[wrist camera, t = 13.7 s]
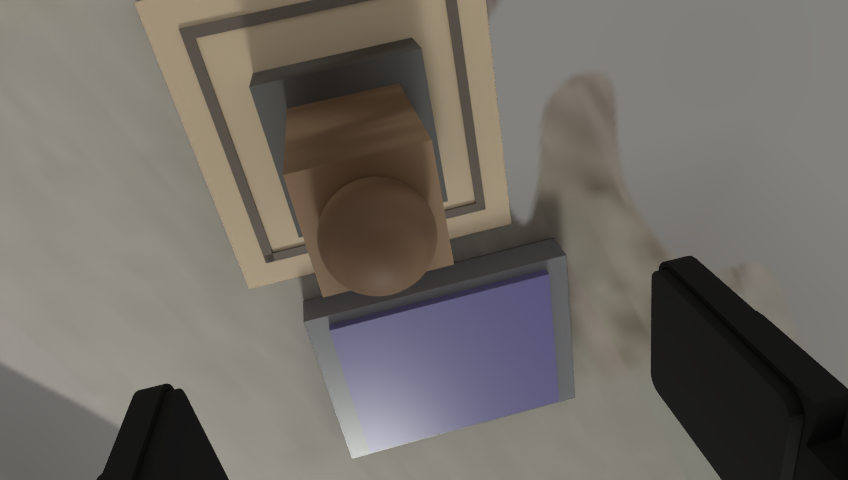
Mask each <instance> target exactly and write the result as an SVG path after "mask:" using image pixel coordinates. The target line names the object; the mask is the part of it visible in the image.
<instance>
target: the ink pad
mask: <svg viewBox="0 0 848 480" xmlns="http://www.w3.org/2000/svg"><path fill="white" fill-rule="evenodd" d="M303 312H304V324H305V327H306V330H307V333H308V336H309V339H310V341H311V344H312V347H313V350H314V353H315V355H316V358H317V361H318V364H319V367H320V369H321V372H322V375H323V378H324V381H325V384H326V386H327V389H328V392H329V395H330V398H331V400H332V403H333V406H334V409H335V412H336V414H337V417H338V420H339V423H340V426H341V429H342V431H343V434H344V437H345V440H346V443H347V445H348V448H349V451H350V454H351V457H352V458H356V457H359V456H363V455H367V454H370V453H374V452H378V451H381V450H385V449H389V448H392V447H396V446H400V445H403V444H407V443H411V442H414V441H418V440H422V439H425V438H429V437H433V436H436V435H440V434H444V433H447V432H451V431H455V430H458V429H462V428H466V427H469V426H473V425H477V424H480V423H484V422H488V421H491V420H495V419H499V418H502V417H506V416H510V415H513V414H517V413H521V412H524V411H528V410H532V409H535V408H539V407H543V406H546V405H550V404H554V403H557V402H561V401H565V400H568V399H572V398H575V387H574V371H573V355H572V338H571V322H570V306H569V290H568V274H567V258H566V254H565V253H564V251H563V250H562V249H561V248H560V246H559V245H558V244H557V242H556V241H555V240H554V239H553V238H552V239H548V240H544V241H540V242H536V243H532V244H528V245H524V246H520V247H516V248H512V249H508V250H504V251H500V252H496V253H492V254H488V255H484V256H480V257H476V258H472V259H468V260H464V261H460V262H457V263H454V265H450V266H446V267H442V268H438V269H434V270H430V271H426V272H425V274H424V275H423V276H422V277H421V278H420V279H419V280H418V281H417V282H416V283H415V284H413V285H412V286H410V287H409V288H407V289H405V290H403V291H401V292H399V293H396V294H392V295H387V296H367V295H362V294H359V293H356V292H353V291H347V292H343V293H339V294H335V295H331V296H327V297H318V298H314V299H310V300H306V301H303Z"/></svg>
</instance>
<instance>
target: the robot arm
mask: <svg viewBox="0 0 848 480" xmlns="http://www.w3.org/2000/svg"><path fill="white" fill-rule="evenodd" d="M651 377H652V381H653V384H654V386H655V389H656V390H657V392H658V393H659V395H660V396H661V398H662V399H663V400H664V402H665V403H666V404H667V406H668V407H669V408H670V410H671V411H672V413H673V414H674V415H675V417H676V418H677V419H678V421H679V422H680V423H681V425H682V426H683V428H684V429H685V430H686V432H687V433H688V434H689V436H690V437H691V438H692V440H693V441H694V443H695V444H696V445H697V447H698V448H699V449H700V451H701V452H702V453H703V455H704V456H705V458H706V459H707V460H708V462H709V463H710V464H711V466H712V467H713V469H714V470H715V471H716V473H717V474H718V475H719V477H720V478H721V479H722V480H848V389H847V388H846V387H845V386H844V385H843V384H842V383H841V382H839V381H838V380H837V379H836V378H835V377H834V376H832V375H831V374H830V373H829V372H828V371H827V370H826V369H824V368H823V367H822V366H821V365H820V364H819V363H818V362H816V361H815V360H814V359H813V358H812V357H811V356H810V355H808V354H807V353H806V352H805V351H804V350H803V349H801V348H800V347H799V346H798V345H797V344H796V343H795V342H793V341H792V340H791V339H790V338H789V337H788V336H787V335H785V334H784V333H783V332H782V331H781V330H780V329H778V328H777V327H776V326H775V325H774V324H773V323H772V322H770V321H769V320H768V319H767V318H766V317H765V316H763V315H762V314H760V313H759V312H757V311H755V310H754V309H753V308H752V307H751V306H750V305H748V304H747V303H746V302H745V301H744V300H743V299H742V298H740V297H739V296H738V295H737V294H736V293H735V292H734V291H732V290H731V289H730V288H729V287H728V286H727V285H726V284H724V283H723V282H722V281H721V280H720V279H719V278H718V277H716V276H715V275H714V274H713V273H712V272H711V271H710V270H708V269H707V268H706V267H705V266H704V265H703V264H701V263H700V262H699V261H698V260H697V259H696V258H694V257H693V256H686V257H682V258H678V259H674V260H669V261H665V262H662V263H661V264H660V266H659V271H655V272H654V273H653V274H652V298H651ZM97 480H229V479H228V477H227V475H226V473H225V471H224V469H223V467H222V465H221V463H220V461H219V459H218V457H217V455H216V453H215V451H214V450H213V448H212V446H211V444H210V442H209V440H208V438H207V436H206V434H205V432H204V430H203V428H202V426H201V424H200V422H199V420H198V418H197V416H196V414H195V412H194V410H193V408H192V406H191V404H190V402H189V400H188V398H187V396H186V394H185V393H184V391H183V390H182V389H175V390H174V388H173V387H172V386H171V385H170V384H163V385H159V386H155V387H151V388H146V389H142V390H138V391H137V392H135V394H134V396H133V398H132V400H131V403H130V405H129V408H128V410H127V413H126V415H125V418H124V420H123V423H122V425H121V428H120V430H119V433H118V436H117V438H116V441H115V443H114V446H113V448H112V451H111V453H110V456H109V459H108V461H107V463H106V466H105V468H104V471H103V473H102V474H101V475H100V476H99V477H98V478H97Z"/></svg>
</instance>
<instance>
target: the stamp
mask: <svg viewBox="0 0 848 480" xmlns="http://www.w3.org/2000/svg"><path fill="white" fill-rule="evenodd" d="M249 88H250V91H251V94H252V98H253V101H254V104H255V107H256V110H257V113H258V116H259V119H260V122H261V125H262V128H263V131H264V134H265V137H266V140H267V143H268V146H269V149H270V152H271V155H272V158H273V161H274V164H275V167H276V170H277V173H278V176H279V179H280V182H281V185H282V188H283V191H284V194H285V197H286V200H287V204H288V207H289V210H290V213H291V216H292V219H293V222H294V225H295V228H296V231H297V234H298V237H299V238H300V237H303V238H304V241H305V244H306V248H307V251H308V254H309V257H310V260H311V263H312V266H313V269H314V272H315V275H316V278H317V281H318V284H319V287H320V291H321V294H322V297H327V296H331V295H335V294H339V293H343V292H347V291H353V292H356V293H359V294H362V295H367V296H387V295H392V294H396V293H399V292H401V291H403V290H405V289H407V288H409V287H410V286H412V285H413V284H415V283H416V282H417V281H418V280H419V279H420V278H421V277H422V276H423V275H424V274H425V272H426V271H430V270H434V269H438V268H442V267H446V266H450V265H454V261H453V255H452V250H451V244H450V239H449V233H448V227H447V222H446V216H445V211H444V205H443V202H447V201H448V198H447V192H446V186H445V181H444V175H443V169H442V163H441V158H440V152H439V146H438V140H437V135H436V129H435V123H434V117H433V112H432V106H431V100H430V94H429V89H428V83H427V77H426V71H425V66H424V60H423V54H422V48H421V47H420V46H419V45H418V44H417V43H416V41H415V40H414V39H413V38H407V39H403V40H398V41H394V42H389V43H385V44H380V45H376V46H371V47H367V48H362V49H358V50H353V51H349V52H345V53H340V54H336V55H331V56H327V57H322V58H318V59H313V60H309V61H304V62H300V63H295V64H291V65H286V66H282V67H277V68H273V69H268V70H264V71H259V72H255V73H253V74H252V78H251V82H250V85H249Z"/></svg>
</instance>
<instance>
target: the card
mask: <svg viewBox="0 0 848 480" xmlns="http://www.w3.org/2000/svg"><path fill="white" fill-rule="evenodd" d="M134 3H135V6H136V8H137V11H138V13H139V16H140V18H141V21H142V23H143V26H144V28H145V31H146V33H147V36H148V38H149V41H150V43H151V46H152V48H153V51H154V53H155V56H156V58H157V61H158V63H159V66H160V68H161V71H162V73H163V76H164V78H165V81H166V83H167V86H168V88H169V91H170V93H171V96H172V98H173V101H174V103H175V105H176V108H177V110H178V113H179V115H180V118H181V120H182V123H183V125H184V128H185V130H186V133H187V135H188V138H189V140H190V143H191V145H192V148H193V150H194V153H195V155H196V158H197V160H198V163H199V165H200V168H201V170H202V173H203V175H204V178H205V180H206V183H207V185H208V188H209V190H210V193H211V195H212V198H213V200H214V203H215V205H216V208H217V210H218V213H219V215H220V218H221V220H222V223H223V225H224V228H225V230H226V233H227V235H228V238H229V240H230V243H231V245H232V248H233V250H234V253H235V255H236V258H237V260H238V263H239V265H240V268H241V270H242V273H243V275H244V278H245V280H246V283H247V285H248V288H249V289H252V288H256V287H260V286H264V285H268V284H272V283H276V282H280V281H284V280H288V279H292V278H296V277H300V276H304V275H308V274H312V273H315V272H314V269H313V266H312V263H311V260H310V257H309V254H308V251H307V248H306V244H305V241H304V238H303V237H300V238H299V237H298V234H297V231H296V228H295V225H294V222H293V219H292V216H291V213H290V210H289V207H288V204H287V200H286V197H285V194H284V191H283V188H282V185H281V182H280V179H279V176H278V173H277V170H276V167H275V164H274V161H273V158H272V155H271V152H270V149H269V146H268V143H267V140H266V137H265V134H264V131H263V128H262V125H261V122H260V119H259V116H258V113H257V110H256V107H255V104H254V101H253V98H252V94H251V91H250V88H249V85H250V82H251V78H252V74H253V73H255V72H259V71H264V70H268V69H273V68H277V67H282V66H286V65H291V64H295V63H300V62H304V61H309V60H313V59H318V58H322V57H327V56H331V55H336V54H340V53H345V52H349V51H353V50H358V49H362V48H367V47H371V46H376V45H380V44H385V43H389V42H394V41H398V40H403V39H407V38H413V39H414V40H415V41H416V43H417V44H418V45H419V46H420V47H421V48H422V54H423V60H424V66H425V71H426V77H427V83H428V89H429V94H430V100H431V106H432V112H433V117H434V123H435V129H436V135H437V140H438V146H439V152H440V158H441V163H442V169H443V175H444V181H445V186H446V192H447V198H448V201H447V202H443V205H444V211H445V216H446V222H447V227H448V233H449V239H452V238H457V237H461V236H465V235H469V234H473V233H477V232H481V231H485V230H489V229H493V228H497V227H501V226H505V225H509V224H511V216H510V207H509V198H508V190H507V181H506V172H505V164H504V155H503V146H502V137H501V129H500V120H499V111H498V103H497V95H496V85H495V77H494V68H493V59H492V50H491V42H490V33H489V24H488V15H487V7H486V0H139V1H135V2H134Z"/></svg>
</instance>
